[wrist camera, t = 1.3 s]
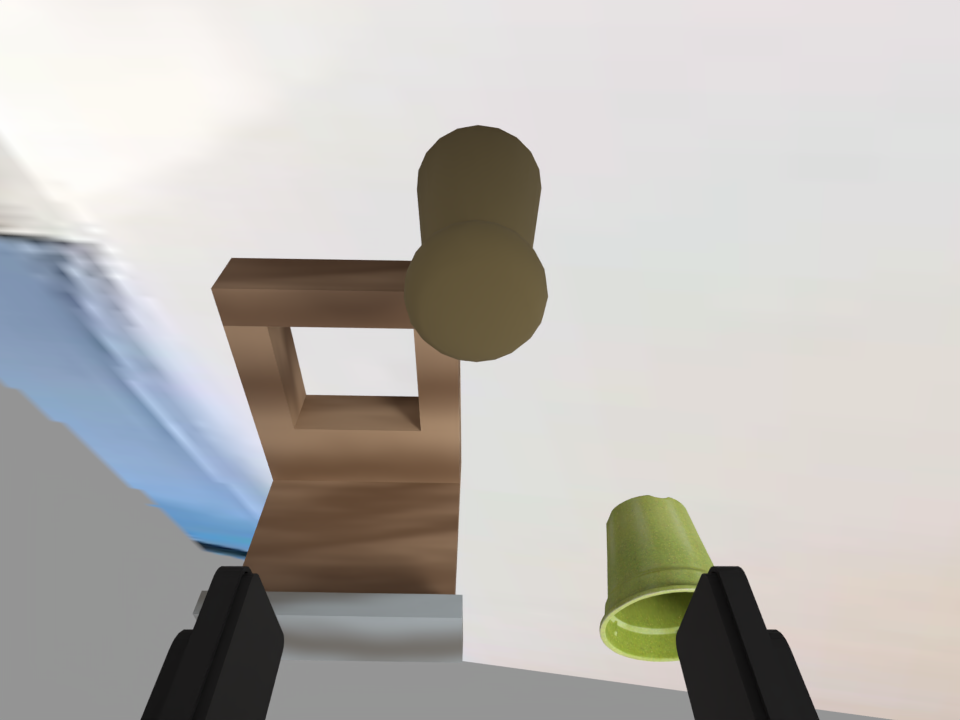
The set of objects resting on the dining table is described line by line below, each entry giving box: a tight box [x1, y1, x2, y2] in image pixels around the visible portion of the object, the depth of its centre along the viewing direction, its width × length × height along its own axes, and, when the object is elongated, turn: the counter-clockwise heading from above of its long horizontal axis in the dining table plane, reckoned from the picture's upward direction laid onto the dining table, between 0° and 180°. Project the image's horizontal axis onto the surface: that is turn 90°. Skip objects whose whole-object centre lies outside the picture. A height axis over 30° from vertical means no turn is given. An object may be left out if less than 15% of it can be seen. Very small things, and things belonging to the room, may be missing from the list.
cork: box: [404, 125, 548, 362], centre depth 24 cm, size 6×6×11 cm
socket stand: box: [193, 258, 463, 663], centre depth 31 cm, size 17×13×13 cm
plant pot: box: [599, 495, 714, 662], centre depth 42 cm, size 9×9×9 cm
